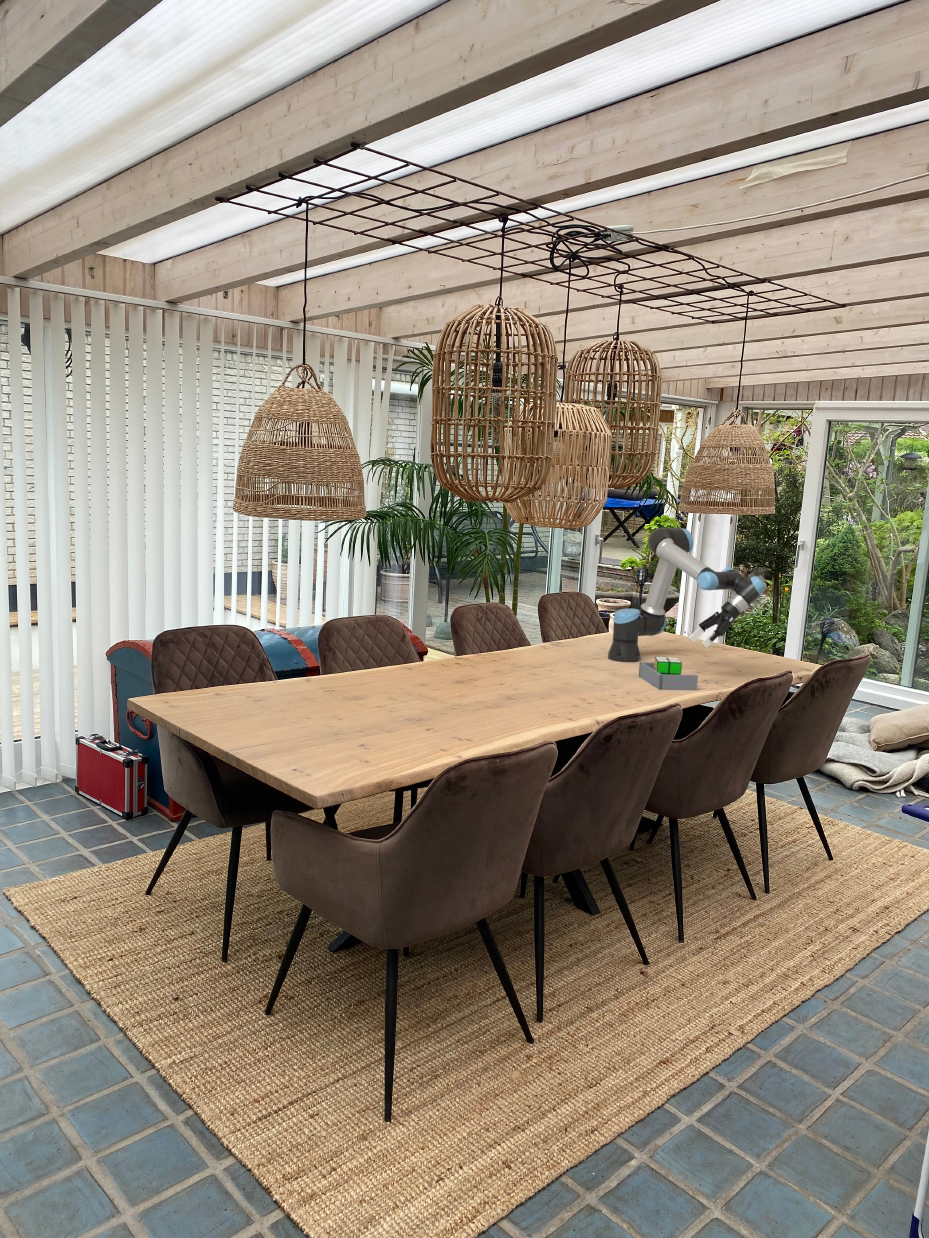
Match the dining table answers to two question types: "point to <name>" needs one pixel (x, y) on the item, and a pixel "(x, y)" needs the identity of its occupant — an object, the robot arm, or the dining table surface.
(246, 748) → the dining table surface
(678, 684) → the grey u-shaped wall
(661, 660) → the puzzle cube
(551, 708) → the dining table surface
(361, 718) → the dining table surface
